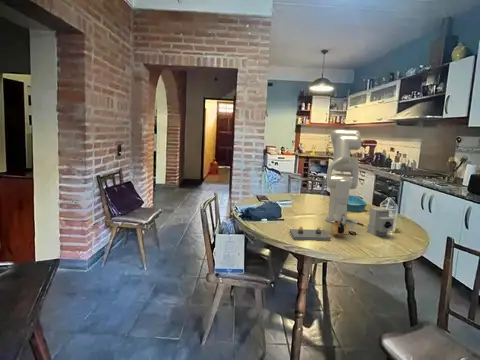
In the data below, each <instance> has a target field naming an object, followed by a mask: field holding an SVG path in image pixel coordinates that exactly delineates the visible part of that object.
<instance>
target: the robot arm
mask: <svg viewBox="0 0 480 360" xmlns="http://www.w3.org/2000/svg"><path fill="white" fill-rule="evenodd" d="M330 139H331V144H332V147H333V159H332V160H333V161H332V162H331V163H330V164H329V166H328V168H327V171H326V183H325V185H326V186H327V188H329V193H330V194H329V203H328V217H327V216H326V217H325V221H326V222H328V223H332V224H333V222H339V226H338V233H341V235H344V234H343V233H344V226H345V224H346V222H347V216H348V211H347V204H348V200H349V195H350V190H357V189H356V188H357V187H358V184H359V171H360V170H359V169H360V168H359V167H360V161H359V160H358V158H357V157H351V151H359V150H360V149H361V147H362V137H361V133H360V131H359V130H358V129H333V130H332V131H331V133H330ZM333 171H336V172H343V173H333ZM340 222H342V223H340Z"/></svg>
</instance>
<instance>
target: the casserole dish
mask: <svg viewBox="0 0 480 360" xmlns="http://www.w3.org/2000/svg"><path fill="white" fill-rule="evenodd" d="M367 204H368V203H367V201H365V200H364V199H362V198H361V197H359V196H357V195H352V194H349V200H348V204H347V212H351V213H352V212H353V213H355V212H356V213H361V212H363V211H364V210H365V209H366V207H367Z"/></svg>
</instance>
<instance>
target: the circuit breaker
mask: <svg viewBox="0 0 480 360" xmlns="http://www.w3.org/2000/svg"><path fill="white" fill-rule="evenodd" d="M368 215H369V218H368V224H367V228H366V229H367V231H366V232H367V233H369V234H371V235H373V236H375V237H379V236H387V235H388V233H389V232H394V231H393V230H394V224H395V223H394V220H395V219H394V217H391V216H390V209H387V208H385V207H381V206H376V207H375V206H373V207H369V210H368Z"/></svg>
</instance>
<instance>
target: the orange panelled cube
mask: <svg viewBox="0 0 480 360" xmlns="http://www.w3.org/2000/svg"><path fill="white" fill-rule="evenodd" d="M340 223H342V222H340ZM338 226H339V222H333V223H332V227H331V228H332V229H331V231H332V232H333V234H336V235H340V234H341V233H338ZM347 226H348V225H347V224H346V223H345V226H344V233H343V234H341V235H346V234H347Z"/></svg>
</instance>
